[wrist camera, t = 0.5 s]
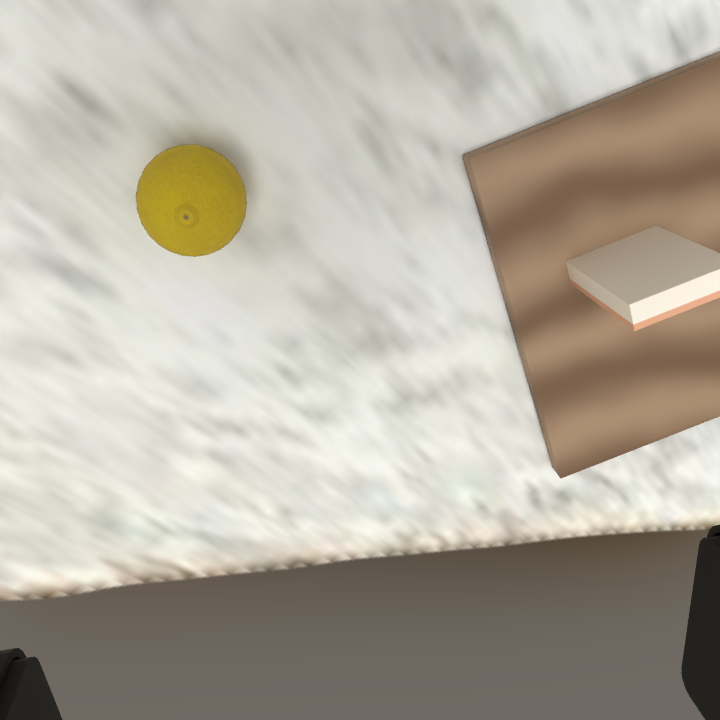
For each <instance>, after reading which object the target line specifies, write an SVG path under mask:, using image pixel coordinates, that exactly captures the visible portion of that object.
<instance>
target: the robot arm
mask: <svg viewBox="0 0 720 720" xmlns="http://www.w3.org/2000/svg"><path fill="white" fill-rule="evenodd" d="M682 678H683V682H684V685H685V688H686V690H687V692H688V694H689V696H690V697H691V699H692V701H693V702H694V703H695V705H696V706H697V708H698V709H699V711H700V712H701V714H702V715H703V717H704V718H705V719H706V720H720V525H716V526H713V527H712V528H711V529H710V530H709V533H708V536H707V538H703V539H702V540H701V541H700V544H699V549H698V556H697V564H696V571H695V577H694V584H693V591H692V598H691V606H690V612H689V619H688V627H687V634H686V641H685V647H684V654H683V662H682ZM0 720H62V718H61V715H60V712H59V710H58V707H57V705H56V702H55V700H54V697H53V695H52V692H51V690H50V687H49V685H48V682H47V680H46V677H45V675H44V672H43V670H42V667H41V665H40V662H39V661H38V659H37V658H36V657H29V658H26V656H25V654H24V652H23V651H22V650H20V649H19V648H14V649H9V650H3V651H0Z"/></svg>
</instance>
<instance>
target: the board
mask: <svg viewBox="0 0 720 720" xmlns="http://www.w3.org/2000/svg"><path fill="white" fill-rule="evenodd" d="M462 156H463V160H464V163H465V166H466V170H467V173H468V177H469V180H470V184H471V187H472V191H473V194H474V198H475V201H476V204H477V208H478V211H479V215H480V218H481V222H482V225H483V229H484V232H485V236H486V239H487V243H488V246H489V249H490V253H491V256H492V260H493V263H494V267H495V270H496V274H497V277H498V281H499V284H500V287H501V291H502V294H503V298H504V301H505V305H506V308H507V312H508V315H509V319H510V322H511V325H512V329H513V332H514V336H515V339H516V343H517V346H518V350H519V353H520V357H521V360H522V364H523V367H524V370H525V374H526V377H527V381H528V384H529V388H530V391H531V395H532V398H533V402H534V405H535V408H536V412H537V415H538V419H539V422H540V426H541V429H542V433H543V436H544V440H545V443H546V447H547V450H548V453H549V457H550V460H551V464H552V467H553V469H554V470H555V471H556V473H557V474H558V476H559V477H560V478H563V477H566V476H568V475H571V474H573V473H576V472H579V471H581V470H584V469H586V468H589V467H591V466H594V465H596V464H599V463H602V462H604V461H607V460H609V459H612V458H614V457H617V456H619V455H622V454H625V453H627V452H630V451H632V450H635V449H637V448H640V447H642V446H645V445H648V444H650V443H653V442H655V441H658V440H660V439H663V438H665V437H668V436H671V435H673V434H676V433H678V432H681V431H683V430H686V429H688V428H691V427H694V426H696V425H699V424H701V423H704V422H706V421H709V420H711V419H714V418H717V417H719V416H720V298H717V299H715V300H712V301H710V302H707V303H705V304H702V305H700V306H697V307H694V308H692V309H689V310H687V311H684V312H682V313H679V314H677V315H674V316H672V317H669V318H667V319H664V320H662V321H659V322H657V323H654V324H651V325H649V326H646V327H644V328H641V329H639V330H636V331H634V330H632V329H631V328H630V327H628V326H627V325H626V324H624V323H623V322H621V321H620V320H619V319H617V318H616V317H615V316H613V315H612V314H611V313H609V312H608V311H607V310H605V309H604V308H602V307H601V306H600V305H598V304H597V303H596V302H594V301H593V300H592V299H590V298H589V297H588V296H586V295H585V294H583V293H582V292H581V291H579V290H578V289H577V288H575V287H574V286H573V285H571V282H570V278H569V273H568V269H567V265H566V261H569V260H571V259H574V258H576V257H579V256H581V255H584V254H586V253H589V252H591V251H594V250H596V249H599V248H601V247H604V246H606V245H609V244H611V243H614V242H616V241H619V240H621V239H624V238H626V237H629V236H631V235H634V234H636V233H639V232H641V231H644V230H646V229H649V228H651V227H654V226H658V227H661V228H663V229H665V230H668V231H670V232H672V233H675V234H677V235H679V236H681V237H684V238H686V239H688V240H691V241H693V242H695V243H697V244H700V245H702V246H704V247H707V248H709V249H711V250H714V251H716V252H718V253H720V52H717V53H715V54H712V55H710V56H707V57H705V58H702V59H700V60H697V61H695V62H693V63H690V64H688V65H685V66H683V67H680V68H678V69H675V70H673V71H670V72H668V73H665V74H663V75H660V76H658V77H655V78H653V79H650V80H648V81H645V82H643V83H641V84H638V85H636V86H633V87H631V88H628V89H626V90H623V91H621V92H618V93H616V94H613V95H611V96H608V97H606V98H603V99H601V100H598V101H596V102H593V103H591V104H589V105H586V106H584V107H581V108H579V109H576V110H574V111H571V112H569V113H566V114H564V115H561V116H559V117H556V118H554V119H551V120H549V121H546V122H544V123H541V124H539V125H537V126H534V127H532V128H529V129H527V130H524V131H522V132H519V133H517V134H514V135H512V136H509V137H507V138H504V139H502V140H499V141H497V142H494V143H492V144H489V145H487V146H485V147H482V148H480V149H477V150H475V151H472V152H470V153H467V154H465V155H462Z"/></svg>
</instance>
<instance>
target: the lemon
mask: <svg viewBox="0 0 720 720" xmlns="http://www.w3.org/2000/svg"><path fill="white" fill-rule="evenodd" d="M136 202H137V211H138V214H139V217H140V220H141V223H142V225H143V226H144V228H145V230H146V231H147V233H148V234H149V236H150V237H151V238H152V239H153V240H154V241H155V242H156V243H157V244H158V245H160V246H162V247H163V248H165V249H167V250H168V251H170V252H173V253H176V254H179V255H182V256H193V257H196V256H202V255H208V254H211V253H213V252H215V251H218V250H220V249H221V248H223V247H224V246H225V245H226V244H228V243H229V242H230V241H231V240H232V239H233V238H234V236H235V235H236V234H237V232H238V231H239V230H240V228H241V225H242V223H243V220H244V218H245V212H246V204H247V201H246V193H245V187H244V185H243V182H242V180H241V177H240V175H239V174H238V172H237V171H236V169H235V168H234V166H233V165H232V164H231V163H230V162H229V161H228V160H227V159H226V158H224V157H223V156H222V155H221V154H219V153H217V152H215V151H213V150H212V149H210V148H206V147H202V146H198V145H180V146H176V147H173V148H169V149H167V150H165V151H163V152H162V153H160V154H158V155H157V156H155V157H154V158H153V159H152V161H151V162H150V163H149V164H148V165H147V166H146V167H145V169H144V171H143V173H142V175H141V177H140V179H139V182H138V187H137V192H136Z"/></svg>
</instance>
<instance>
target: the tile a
mask: <svg viewBox="0 0 720 720" xmlns="http://www.w3.org/2000/svg"><path fill="white" fill-rule="evenodd" d="M566 265H567V269H568V273H569V278H570V282H571V285H573V286H574V287H575V288H577V289H578V290H579V291H581V292H582V293H583V294H585V295H586V296H588V297H589V298H590V299H592V300H593V301H594V302H596V303H597V304H598V305H600V306H601V307H602V308H604V309H605V310H607V311H608V312H609V313H611V314H612V315H613V316H615V317H616V318H617V319H619V320H620V321H621V322H623V323H624V324H626V325H627V326H628V327H630V328H631V329H632V330H634V331H636V330H639V329H641V328H644V327H646V326H649V325H651V324H654V323H657V322H659V321H662V320H664V319H667V318H669V317H672V316H674V315H677V314H679V313H682V312H684V311H687V310H689V309H692V308H694V307H697V306H700V305H702V304H705V303H707V302H710V301H712V300H715V299H717V298H720V253H718V252H716V251H714V250H711V249H709V248H707V247H704V246H702V245H700V244H697V243H695V242H693V241H691V240H688V239H686V238H684V237H681V236H679V235H677V234H675V233H672V232H670V231H668V230H665V229H663V228H661V227H658V226H654V227H651V228H649V229H646V230H644V231H641V232H639V233H636V234H634V235H631V236H629V237H626V238H624V239H621V240H619V241H616V242H614V243H611V244H609V245H606V246H604V247H601V248H599V249H596V250H594V251H591V252H589V253H586V254H584V255H581V256H579V257H576V258H574V259H571V260H569V261H566Z"/></svg>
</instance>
